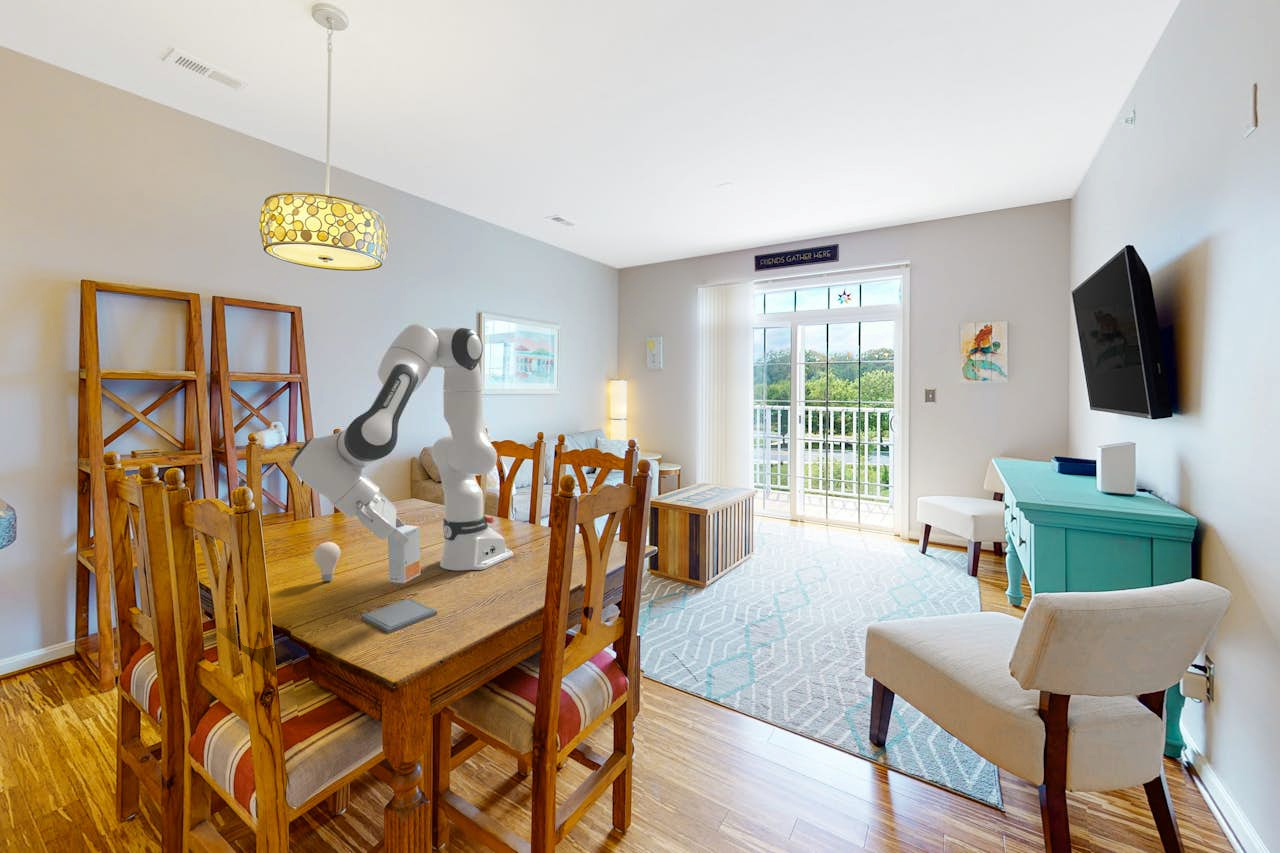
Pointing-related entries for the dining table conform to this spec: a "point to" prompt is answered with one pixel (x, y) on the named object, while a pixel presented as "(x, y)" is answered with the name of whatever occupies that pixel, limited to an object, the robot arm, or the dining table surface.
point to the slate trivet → (398, 615)
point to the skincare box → (404, 556)
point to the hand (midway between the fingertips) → (406, 536)
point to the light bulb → (327, 559)
